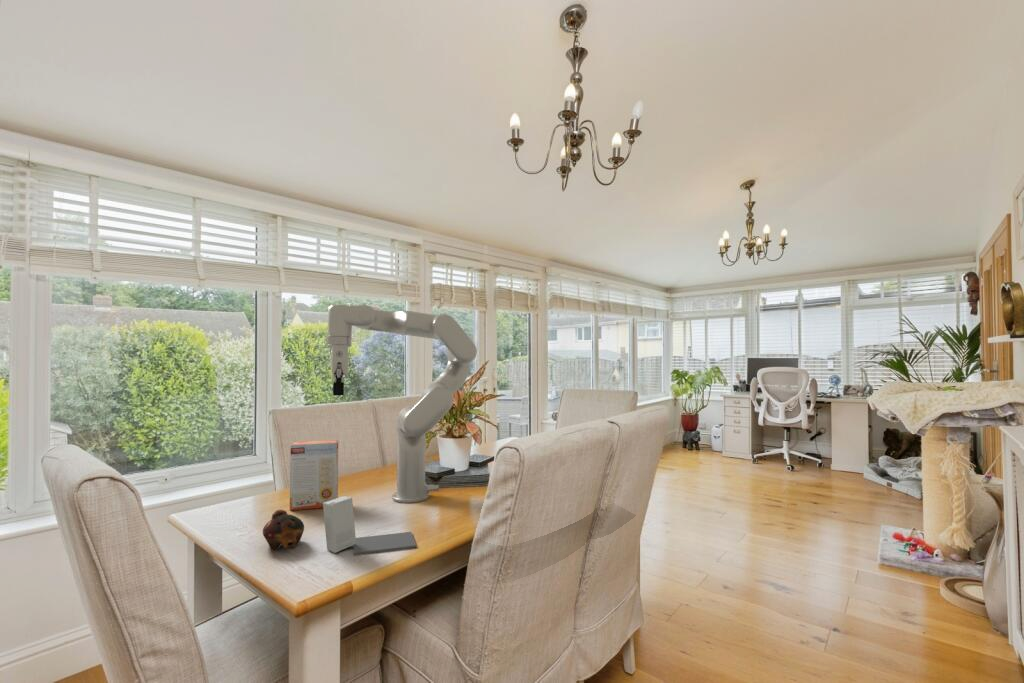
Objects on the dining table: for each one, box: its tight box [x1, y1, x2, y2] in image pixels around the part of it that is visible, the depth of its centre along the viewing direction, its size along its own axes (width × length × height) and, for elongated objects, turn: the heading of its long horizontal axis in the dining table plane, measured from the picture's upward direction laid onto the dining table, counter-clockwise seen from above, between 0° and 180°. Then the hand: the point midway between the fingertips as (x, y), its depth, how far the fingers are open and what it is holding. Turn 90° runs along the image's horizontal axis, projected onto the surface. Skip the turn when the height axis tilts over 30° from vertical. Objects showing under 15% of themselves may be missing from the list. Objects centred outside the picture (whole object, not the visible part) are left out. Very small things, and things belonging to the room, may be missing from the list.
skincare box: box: [322, 495, 357, 554], centre depth 120 cm, size 6×4×12 cm
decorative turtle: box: [262, 509, 305, 551], centre depth 122 cm, size 10×15×8 cm, turn 43°
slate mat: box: [353, 531, 417, 556], centre depth 123 cm, size 15×10×1 cm, turn 109°
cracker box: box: [289, 439, 339, 511], centre depth 154 cm, size 14×6×21 cm, turn 104°
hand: (338, 394), depth 156 cm, fingers open, 9 cm apart
